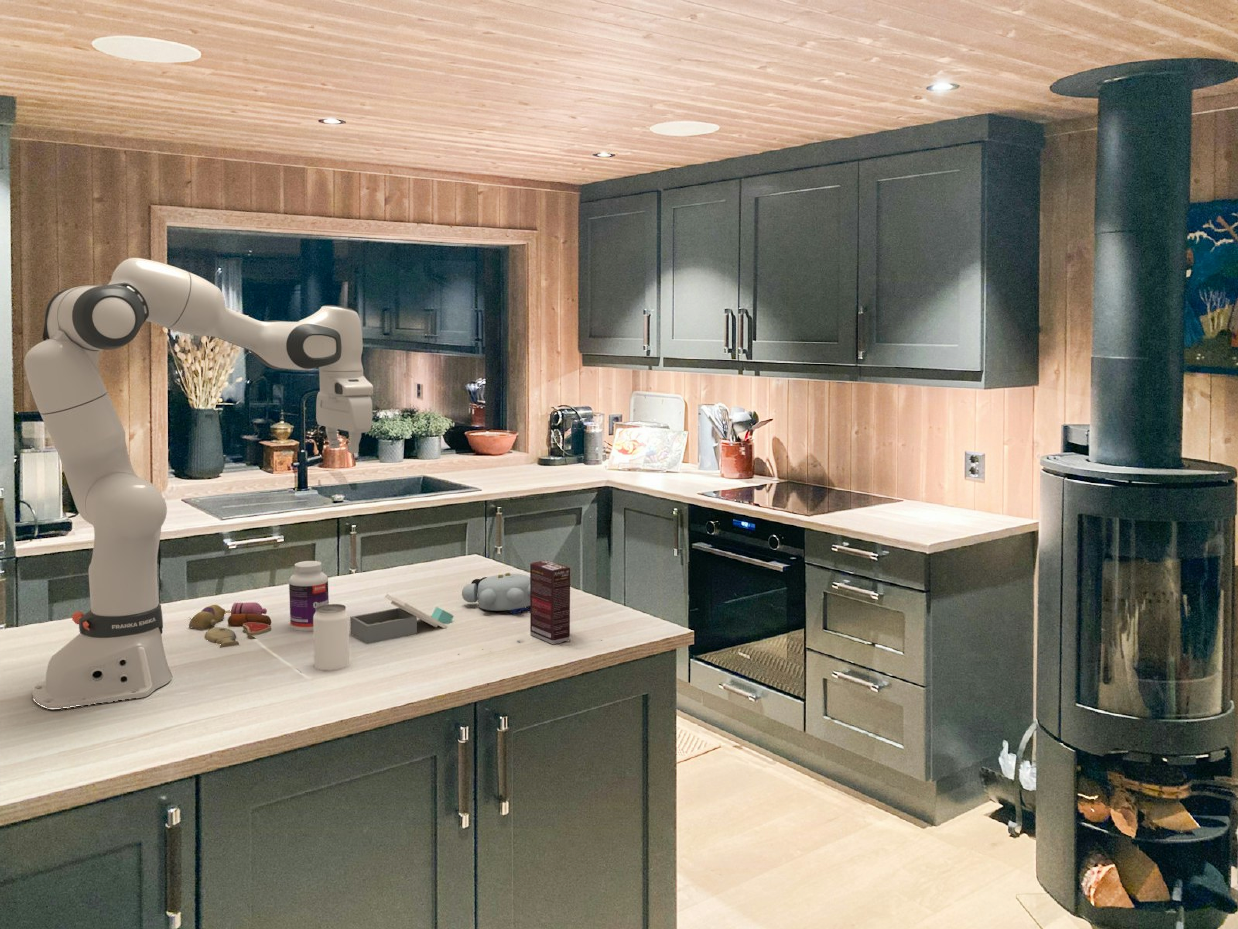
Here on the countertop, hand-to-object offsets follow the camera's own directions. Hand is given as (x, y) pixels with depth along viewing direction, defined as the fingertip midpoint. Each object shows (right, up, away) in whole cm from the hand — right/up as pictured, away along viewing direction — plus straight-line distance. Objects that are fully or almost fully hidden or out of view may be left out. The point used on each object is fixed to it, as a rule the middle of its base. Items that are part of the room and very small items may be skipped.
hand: (343, 450), depth 212 cm
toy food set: (-26, -39, +8) cm, 47 cm away
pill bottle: (-9, -39, +6) cm, 40 cm away
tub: (+8, -39, +1) cm, 40 cm away
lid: (+14, -36, +6) cm, 39 cm away
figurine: (+30, -37, +26) cm, 54 cm away
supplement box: (+43, -40, +2) cm, 59 cm away
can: (+3, -42, -18) cm, 46 cm away
